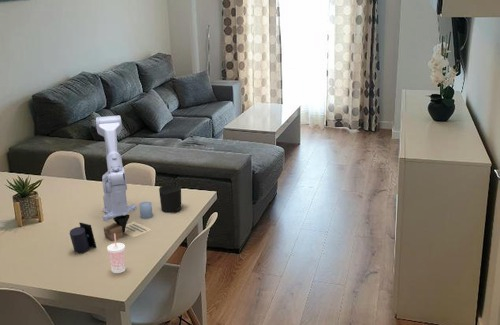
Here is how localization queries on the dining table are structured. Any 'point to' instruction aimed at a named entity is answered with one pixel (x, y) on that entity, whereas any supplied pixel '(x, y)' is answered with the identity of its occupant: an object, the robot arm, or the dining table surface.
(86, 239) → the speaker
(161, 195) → the pen holder
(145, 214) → the slate cylinder
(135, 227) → the letter
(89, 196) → the dining table surface
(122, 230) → the robot arm
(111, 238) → the walnut block
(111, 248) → the beverage cup
